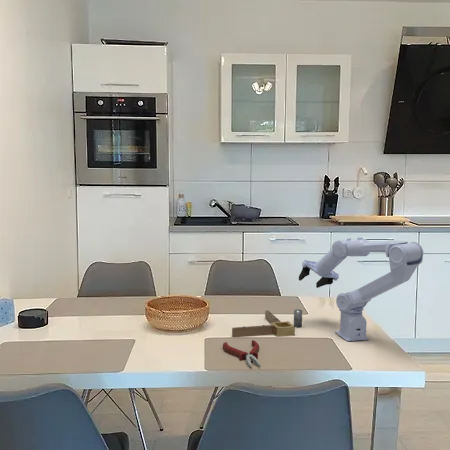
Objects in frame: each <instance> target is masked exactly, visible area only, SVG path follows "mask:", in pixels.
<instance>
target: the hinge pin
mask: <svg viewBox="0 0 450 450" xmlns="http://www.w3.org/2000/svg"><path fill="white" fill-rule="evenodd" d="M293 326H294V327H295V329H297V328H303V310H302V309H297V308H296V309H294V310H293Z"/></svg>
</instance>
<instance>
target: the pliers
mask: <svg viewBox="0 0 450 450" xmlns="http://www.w3.org/2000/svg"><path fill="white" fill-rule="evenodd" d="M251 347H252V348H251V350H250V351H249V353H248V352H247V351H244V350H241V349H239V348H235V347H233V346H230V345H229V344H228V342H227V341H226V342H225V341H224V342H223V344H222V348H223V351H224V352H225V353H226V354H229V355H231V356H234V357H236V358H238V360H239V361H240V362H241V361H245V362H246V364H247V365H248V366H249V367H250V368H252V364H253V363H254V365H255V366H257V367H259V368H260V367H262V365H261V364H260V362H259V361H258V359H259V351H260V345H259V343H258V342H257V341H256V340H254V339H253V340H251ZM251 361H253V362H251Z"/></svg>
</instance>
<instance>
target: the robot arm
mask: <svg viewBox="0 0 450 450" xmlns="http://www.w3.org/2000/svg"><path fill="white" fill-rule="evenodd" d="M370 253H385V256H386V258H388V260H389V261H388V263H389V268H390V272H387V273H386V274H384V275H381V276H380V277H378V278H376V279H374V280H373V281H371V282H369V283H367V284H364V285H362V286H361V287H359V288H357V289H354V290H351V291H348V292H343V293H342V292H341V293H339V294H337V296H336V299H335V301H336V307H337V308H338V309H339V311H340V320H339V321H340V322H339V323H340V327H339V330H336V331H335V332H334V333H336V334H337V335H338V336H339V337H341V338H342V339H344V340H345V341H346V342H354V341H367V340H369V338H368V337H367V323H368V322H367V320H366V318H365V316H363V312H364V308H365V307H366V306H367V305H368V303H369V302H371V301H372V299H374V298H375V297H378V296H380V295H382V294H385V293H386V292H387V291H390V290H392V289H394V288H397V287H398V286H400V285H402V284H404V283H407V282H408V281H410V280H411V277H412V276H413V274H414V273H415V271H416V269H417V268H418V266H419V265H420V264H422V263H423V260H424V258H423V257H424V249H423V246H422V245H421V244H420V243H418V242H415V241H411V242H409V241H405V240H403V241H402V240H400V241H399V240H391V241H390V240H388V241H377V242H376V241H375V242H370V241H369V240H368V239H365V238H363V237H357V239H352V238H351V237H350V238H346V239H340V240H339V239H338V240H336V241H334V242H333V244H332V245H331V249H330V250H329V251H328V252H326V253H325V255H323V256H322V257H321V258H320V260H319V259H318V261H313V260H312V261H311V260H307V259H304V260H303V261H302V263H301V265H302V269H301V272H300V274H299V276H298V281H302V280H303V279H304V278H306V277H308V276H310V272H311V271H312V272H314V273H315V274H316V275H317V276H319V277H321V278H320V279H319V280H317V282H316V283H315V286H316V287H315V288H317V289H318V288H321V287H323V286H327V285H332V284H333V283H334V281H335V282H336V281H338V279H339V278H340V277H339V276H340V274H339V273H337V272H335V271H334V270H335V268H337V266H339V265H340V264H342V262H343V261H344V260H345V259H347V257H367V256H368V255H370Z"/></svg>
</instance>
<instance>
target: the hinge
mask: <svg viewBox="0 0 450 450" xmlns="http://www.w3.org/2000/svg"><path fill="white" fill-rule="evenodd" d="M264 319H265V320H266V321H267V322H269V324H266V325H265V324H262V325H251V326H238V327H231V337H232V338H241V337H254V336H264V335H265V336H266V335H267V336H268V335H269V336H270V335H275V336H276V337H288V336H290V335H291V336H296V334H295V333H296V327H294V324H292V323H291V322H290V321H281V320H280V319H279V318H277V316H275V314H273V312H271V311H269V310H264Z"/></svg>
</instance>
